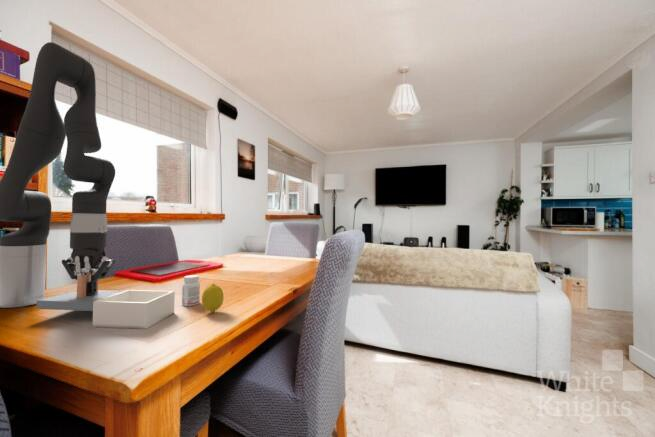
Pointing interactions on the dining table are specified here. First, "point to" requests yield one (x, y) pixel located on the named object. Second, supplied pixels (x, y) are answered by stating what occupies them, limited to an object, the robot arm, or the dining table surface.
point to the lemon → (212, 298)
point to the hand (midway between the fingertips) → (87, 295)
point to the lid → (75, 298)
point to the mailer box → (133, 309)
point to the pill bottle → (191, 290)
